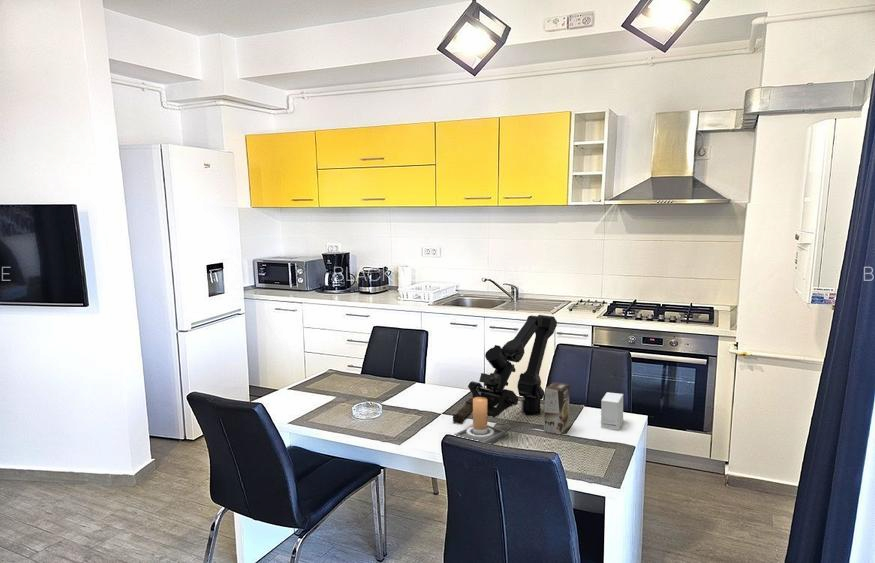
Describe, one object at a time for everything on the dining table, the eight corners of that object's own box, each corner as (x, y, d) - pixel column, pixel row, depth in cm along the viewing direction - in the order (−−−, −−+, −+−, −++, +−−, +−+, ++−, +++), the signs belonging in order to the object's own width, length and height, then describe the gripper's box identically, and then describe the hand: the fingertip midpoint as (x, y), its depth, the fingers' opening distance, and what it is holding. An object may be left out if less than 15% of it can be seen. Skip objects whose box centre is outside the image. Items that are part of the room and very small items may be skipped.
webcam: (497, 408, 225) (497, 384, 224) (503, 415, 218) (503, 390, 217) (478, 410, 224) (478, 385, 223) (483, 416, 217) (483, 391, 215)
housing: (478, 427, 205) (478, 421, 205) (505, 436, 198) (505, 429, 197) (454, 439, 195) (453, 432, 195) (481, 449, 187) (481, 441, 187)
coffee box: (560, 435, 198) (561, 390, 196) (543, 431, 202) (544, 387, 200) (569, 426, 206) (570, 383, 204) (552, 423, 209) (553, 381, 207)
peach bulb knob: (488, 433, 198) (488, 397, 196) (486, 438, 193) (486, 402, 192) (474, 431, 199) (474, 396, 198) (471, 437, 194) (471, 400, 193)
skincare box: (605, 418, 214) (606, 391, 213) (623, 421, 211) (624, 393, 210) (599, 427, 205) (600, 399, 203) (618, 430, 202) (619, 402, 201)
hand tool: (462, 425, 209) (462, 413, 208) (452, 423, 211) (452, 411, 210) (479, 408, 226) (479, 397, 226) (470, 407, 228) (470, 396, 227)
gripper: (470, 359, 204) (451, 396, 197) (513, 368, 192) (495, 408, 185) (483, 375, 211) (465, 412, 204) (526, 385, 199) (508, 424, 192)
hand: (482, 413), depth 196 cm, fingers open, 9 cm apart
